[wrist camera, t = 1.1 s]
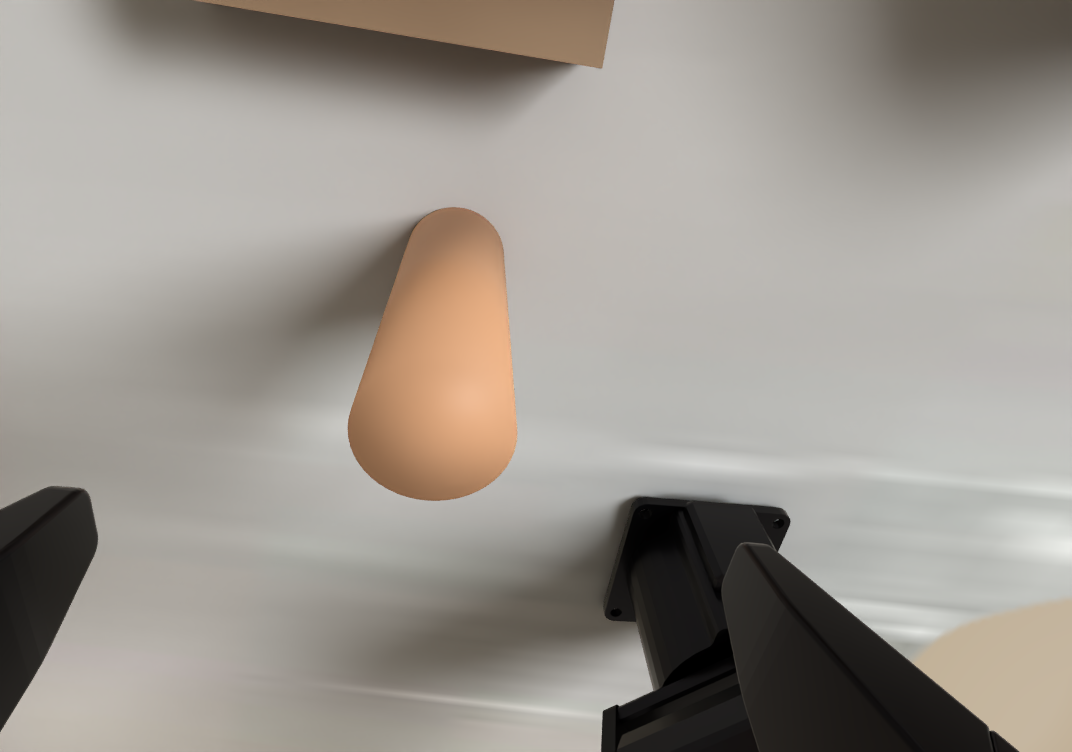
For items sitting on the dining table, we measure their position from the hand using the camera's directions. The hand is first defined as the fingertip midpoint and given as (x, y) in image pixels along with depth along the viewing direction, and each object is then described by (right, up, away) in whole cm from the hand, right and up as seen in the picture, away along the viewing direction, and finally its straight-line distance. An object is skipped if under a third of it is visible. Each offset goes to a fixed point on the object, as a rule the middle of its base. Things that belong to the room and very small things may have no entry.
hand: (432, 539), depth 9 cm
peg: (-1, +6, +11) cm, 13 cm away
